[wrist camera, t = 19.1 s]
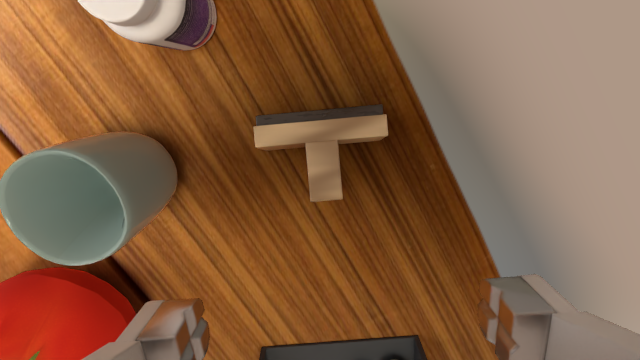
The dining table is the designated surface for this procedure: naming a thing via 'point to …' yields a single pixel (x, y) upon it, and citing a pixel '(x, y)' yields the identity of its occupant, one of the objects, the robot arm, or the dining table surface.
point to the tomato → (59, 315)
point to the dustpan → (350, 350)
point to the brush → (321, 140)
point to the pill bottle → (158, 20)
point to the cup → (87, 195)
